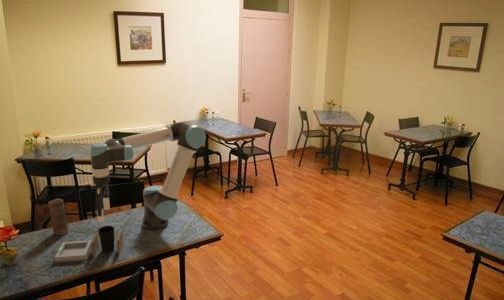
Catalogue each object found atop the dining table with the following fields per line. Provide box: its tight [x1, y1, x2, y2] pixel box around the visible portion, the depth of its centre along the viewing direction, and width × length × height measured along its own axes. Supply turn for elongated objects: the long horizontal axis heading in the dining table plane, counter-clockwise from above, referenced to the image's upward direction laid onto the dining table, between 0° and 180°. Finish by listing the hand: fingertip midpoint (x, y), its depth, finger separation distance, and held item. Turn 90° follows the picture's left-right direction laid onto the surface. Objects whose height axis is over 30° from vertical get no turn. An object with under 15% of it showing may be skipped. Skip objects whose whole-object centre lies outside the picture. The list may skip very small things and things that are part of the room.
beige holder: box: [91, 230, 124, 257], centre depth 191 cm, size 13×10×8 cm
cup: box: [97, 225, 115, 254], centre depth 190 cm, size 8×8×12 cm
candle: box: [48, 198, 69, 236], centre depth 204 cm, size 8×7×20 cm
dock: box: [54, 240, 92, 264], centre depth 187 cm, size 14×14×3 cm
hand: (103, 215), depth 187 cm, fingers open, 13 cm apart
